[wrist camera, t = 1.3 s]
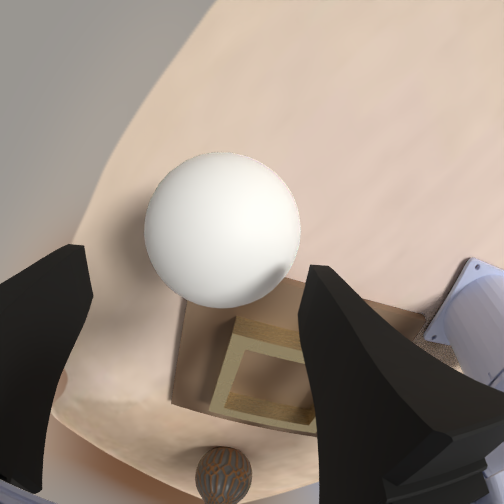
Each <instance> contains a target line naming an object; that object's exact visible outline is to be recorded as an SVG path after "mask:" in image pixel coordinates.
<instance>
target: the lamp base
mask: <svg viewBox="0 0 504 504" xmlns="http://www.w3.org/2000/svg"><path fill="white" fill-rule="evenodd" d="M304 287H305V283H303V282H300V281H296V280H293V279H289V278H285V277H284V278H283V279H282V281H281V282H280V283H279V284H278V285H277V286H276V287H275V288H274V289H273V290H272V291H271V292H269V293H268V294H267V295H265V296H264V297H262V298H260V299H258V300H256V301H254V302H252V303H249V304H246V305H242V306H238V307H234V308H211V307H206V306H202V305H198V304H195V303H193V302H191V301H189V300H187V306H186V311H185V317H184V323H183V329H182V335H181V341H180V347H179V354H178V360H177V367H176V373H175V380H174V387H173V394H172V401H171V404H174V405H177V406H180V407H183V408H187V409H190V410H193V411H197V412H200V413H204V414H208V415H211V416H215V417H219V418H223V419H227V420H231V421H235V422H239V423H244V424H248V425H253V426H257V427H262V428H267V429H272V430H277V431H283V432H289V433H294V434H301V435H307V436H314V437H317V432H316V433H310V432H303V431H297V430H291V429H286V428H280V427H275V426H270V425H265V424H260V423H255V422H251V421H246V420H242V419H238V418H234V417H229V416H225V415H222V414H218V413H214V412H210V411H208V410H209V406H210V403H211V399H212V395H213V392H214V388H215V385H216V382H217V379H218V375H219V372H220V369H221V366H222V362H223V359H224V356H225V353H226V349H227V346H228V343H229V339H230V336H231V333H232V330H233V326H234V323H235V320H236V317H237V316H240V317H243V318H247V319H251V320H254V321H258V322H262V323H265V324H269V325H273V326H277V327H281V328H285V329H289V330H293V331H297V332H299V327H298V315H297V314H298V310H299V307H300V303H301V299H302V295H303V291H304ZM363 300H364V301H365V302H366V303H367V304H368V305H369V306H370V307H371V308H372V309H373V310H375V311H376V312H377V313H378V314H379V315H380V316H381V317H382V318H383V319H385V320H386V321H387V322H388V323H389V324H390V325H391V326H392V327H394V328H395V329H396V330H397V331H399V332H400V333H401V334H402V335H404V336H405V337H406V338H408V339H409V340H410V341H413V340H414V338H415V337H416V335H417V334H418V332H419V331H420V329H421V328H422V326H423V325H424V323H425V322H426V320H425V318H424V316H423V315H422V314H418V313H415V312H411V311H407V310H403V309H399V308H396V307H392V306H388V305H384V304H381V303H377V302H373V301H369V300H366V299H363ZM230 392H233V393H237V394H241V395H245V396H249V397H253V398H257V399H262V400H266V401H271V402H276V403H280V404H285V405H290V406H296V407H301V408H306V409H309V408H310V406H311V405H312V404H313V397H312V393H311V388H310V384H309V379H308V375H307V371H306V366H305V364H303V363H298V362H294V361H289V360H285V359H281V358H277V357H273V356H269V355H265V354H261V353H257V352H253V351H249V350H245V351H244V354H243V357H242V360H241V362H240V365H239V368H238V371H237V373H236V376H235V379H234V381H233V384H232V387H231V389H230Z"/></svg>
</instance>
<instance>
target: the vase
mask: <svg viewBox="0 0 504 504" xmlns="http://www.w3.org/2000/svg"><path fill="white" fill-rule="evenodd" d="M195 480H196V487H197V490H198V492H199V494H200V495H201V497H202V499H203V500H204V502H205V504H237V503H238V502H239V501H240V500H242V499H243V498H244V497H245V495H246V494H247V492H248V490H249V488H250V485H251V481H252V469H251V465H250V462H249V461H248V459H247V458H246V457H245V456H244V454H242V453H241V452H240V451H238V450H236V449H232V448H227V447H219V448H215V449H213V450H211V451H209V452H208V453H206V454H205V455H204V456H203V457H202V459H201V460H200V462H199V464H198V467H197V470H196V475H195Z"/></svg>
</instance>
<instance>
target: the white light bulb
mask: <svg viewBox="0 0 504 504" xmlns="http://www.w3.org/2000/svg"><path fill="white" fill-rule="evenodd" d="M300 233H301V227H300V218H299V211H298V208H297V205H296V202H295V199H294V197H293V195H292V193H291V192H290V190H289V188H288V187H287V185H286V184H285V182H284V181H283V180H282V179H281V178H280V177H279V176H278V175H277V174H276V173H275V172H274V171H273V170H271V169H270V168H268V167H267V166H266V165H264V164H263V163H261V162H259V161H257V160H255V159H253V158H250V157H248V156H245V155H241V154H236V153H231V152H212V153H207V154H202V155H198V156H196V157H193V158H191V159H189V160H186V161H185V162H183V163H182V164H180V165H179V166H177V167H176V168H175V169H173V170H172V171H170V172H169V173H168V174H167V175H166V177H165V178H164V179H163V180H162V181H161V182H160V183H159V185H158V187H157V189H156V190H155V192H154V194H153V196H152V198H151V200H150V202H149V205H148V208H147V212H146V216H145V226H144V238H145V246H146V249H147V252H148V255H149V258H150V261H151V263H152V265H153V267H154V269H155V270H156V272H157V274H158V275H159V277H160V278H161V279H162V280H163V282H164V283H165V284H166V285H167V286H168V287H169V288H170V289H172V290H173V291H174V292H175V293H177V294H178V295H180V296H181V297H183V298H184V299H186V300H189V301H191V302H193V303H195V304H198V305H202V306H206V307H211V308H234V307H238V306H242V305H246V304H249V303H252V302H254V301H256V300H258V299H260V298H262V297H264V296H265V295H267V294H268V293H269V292H271V291H272V290H273V289H274V288H275V287H276V286H277V285H278V284H279V283H280V282H281V281H282V279H283V278H284V277H285V276H286V275H287V273H288V271H289V270H290V268H291V266H292V264H293V262H294V260H295V257H296V254H297V251H298V248H299V244H300Z"/></svg>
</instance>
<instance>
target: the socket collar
mask: <svg viewBox="0 0 504 504" xmlns="http://www.w3.org/2000/svg"><path fill="white" fill-rule="evenodd" d="M245 350H249V351H253V352H257V353H261V354H265V355H269V356H273V357H277V358H281V359H285V360H289V361H294V362H298V363H303V364H305V362H304V358H303V353H302V349H301V344H300V337H299V332H297V331H293V330H289V329H285V328H281V327H277V326H273V325H269V324H265V323H262V322H258V321H254V320H251V319H247V318H243V317H240V316H237V317H236V320H235V323H234V326H233V330H232V333H231V336H230V339H229V343H228V346H227V349H226V353H225V356H224V359H223V362H222V366H221V369H220V372H219V375H218V379H217V382H216V385H215V388H214V392H213V395H212V399H211V403H210V406H209V410H208V411H210V412H214V413H218V414H222V415H225V416H229V417H234V418H238V419H242V420H246V421H251V422H255V423H260V424H265V425H270V426H275V427H280V428H286V429H291V430H297V431H303V432H310V433H316V432H317V427H316V417H315V408H314V403H313V404H312V405H311V406H310V408H309V409H306V408H301V407H296V406H290V405H285V404H280V403H276V402H271V401H266V400H262V399H257V398H253V397H249V396H245V395H241V394H237V393H233V392H230V389H231V387H232V384H233V381H234V379H235V376H236V373H237V371H238V368H239V365H240V362H241V360H242V357H243V354H244V351H245Z"/></svg>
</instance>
